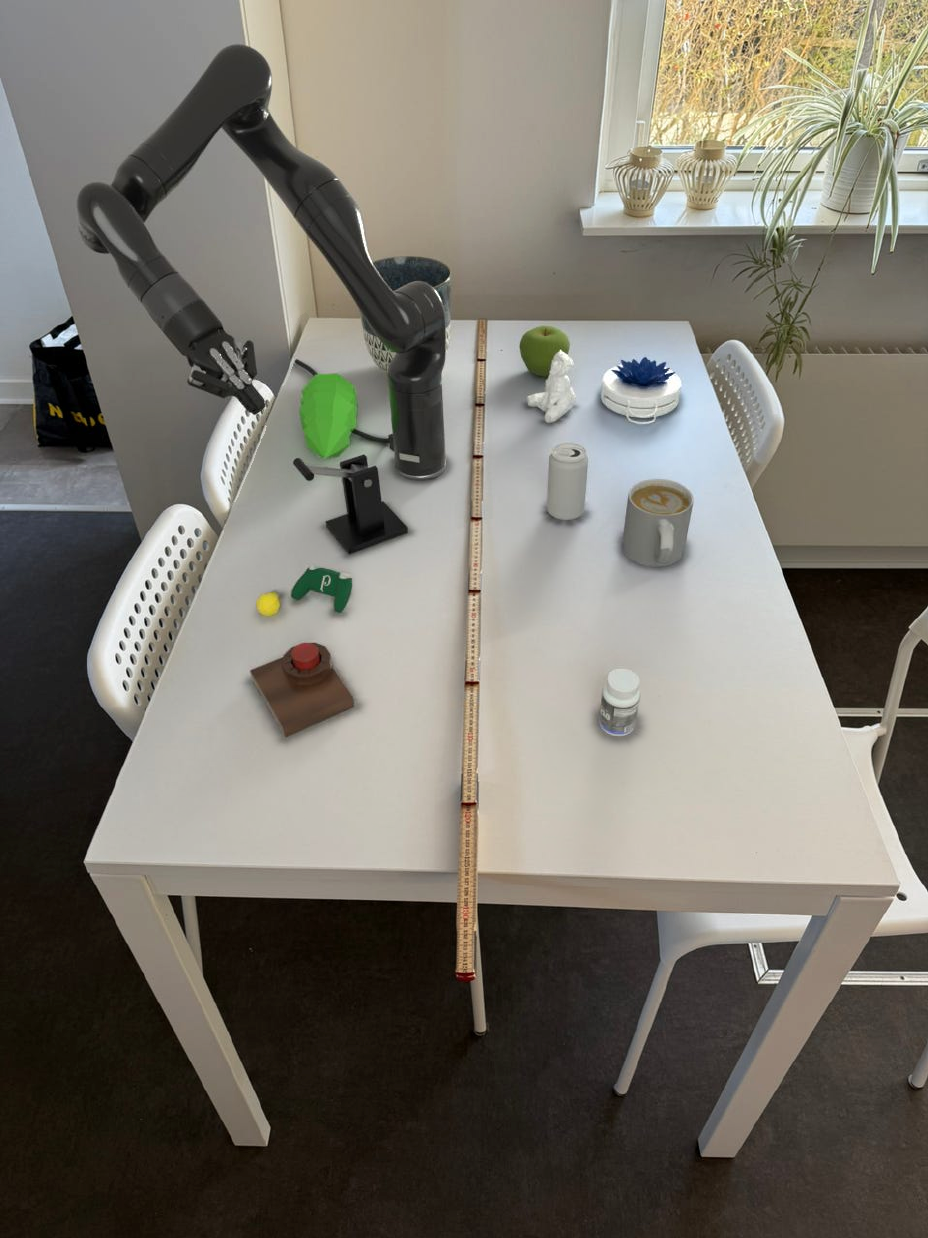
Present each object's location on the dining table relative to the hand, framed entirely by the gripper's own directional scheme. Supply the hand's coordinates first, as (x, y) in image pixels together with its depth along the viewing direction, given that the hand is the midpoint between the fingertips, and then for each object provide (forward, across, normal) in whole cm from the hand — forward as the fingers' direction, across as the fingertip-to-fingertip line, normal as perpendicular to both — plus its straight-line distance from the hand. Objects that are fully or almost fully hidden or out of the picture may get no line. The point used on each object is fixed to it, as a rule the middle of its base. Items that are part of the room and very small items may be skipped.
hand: (260, 410), depth 129 cm
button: (+32, -24, -4) cm, 40 cm away
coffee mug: (+56, +26, -22) cm, 65 cm away
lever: (+14, +4, +2) cm, 15 cm away
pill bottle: (+63, -9, -29) cm, 70 cm away
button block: (+35, -26, -2) cm, 44 cm away
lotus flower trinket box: (+40, +70, -7) cm, 81 cm away
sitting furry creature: (+30, +60, +3) cm, 67 cm away
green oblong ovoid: (+8, +27, +25) cm, 38 cm away
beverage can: (+43, +29, -10) cm, 53 cm away
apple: (+24, +72, +10) cm, 77 cm away
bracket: (+24, +8, +9) cm, 27 cm away
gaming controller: (+28, -9, +6) cm, 30 cm away
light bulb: (+24, -15, +9) cm, 30 cm away
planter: (+6, +58, +27) cm, 65 cm away
